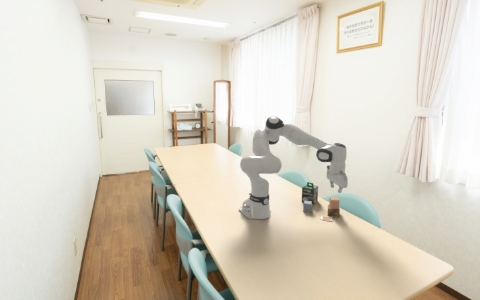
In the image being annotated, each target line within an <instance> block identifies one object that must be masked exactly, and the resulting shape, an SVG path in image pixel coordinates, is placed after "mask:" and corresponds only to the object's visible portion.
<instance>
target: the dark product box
mask: <svg viewBox="0 0 480 300" xmlns="http://www.w3.org/2000/svg"><path fill="white" fill-rule="evenodd" d="M318 196H319V185H314V182H309V181H308V182H306V184H304V185H303V186H302V187H301V203H304V200H305V201H312V204H313V205H315V204H316V203H317V202H318V200H319V199H318V198H319V197H318Z"/></svg>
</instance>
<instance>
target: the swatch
mask: <svg viewBox="0 0 480 300" xmlns="http://www.w3.org/2000/svg"><path fill="white" fill-rule="evenodd" d="M320 221H324V222H326V221H327V222H331V223H333V217H332V216H328V215H320Z"/></svg>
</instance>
